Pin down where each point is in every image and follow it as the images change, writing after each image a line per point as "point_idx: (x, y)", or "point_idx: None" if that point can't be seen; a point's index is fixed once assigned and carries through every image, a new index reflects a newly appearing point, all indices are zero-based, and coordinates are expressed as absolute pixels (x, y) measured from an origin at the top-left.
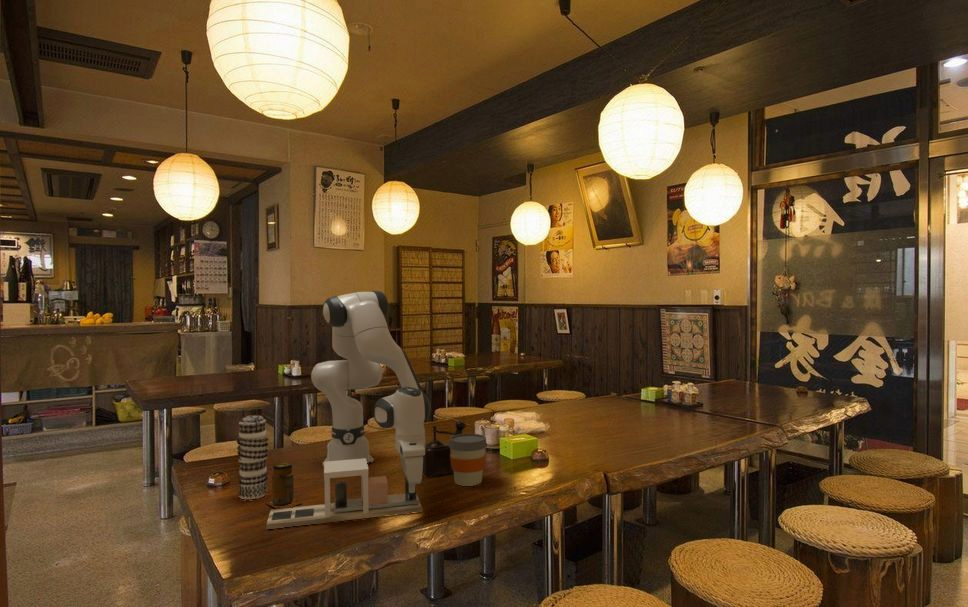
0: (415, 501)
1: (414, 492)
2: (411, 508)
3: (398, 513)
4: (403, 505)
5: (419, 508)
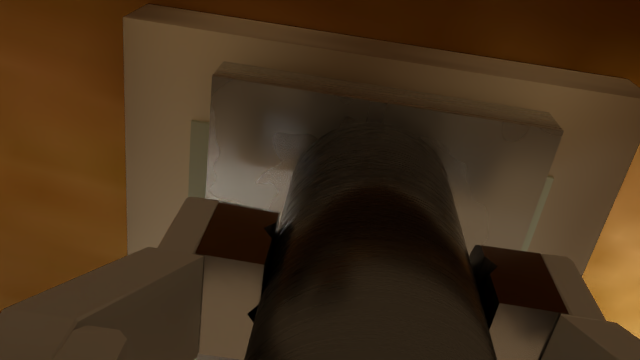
0: (538, 175)
1: (453, 208)
2: (601, 226)
3: None
4: None
5: (636, 129)
